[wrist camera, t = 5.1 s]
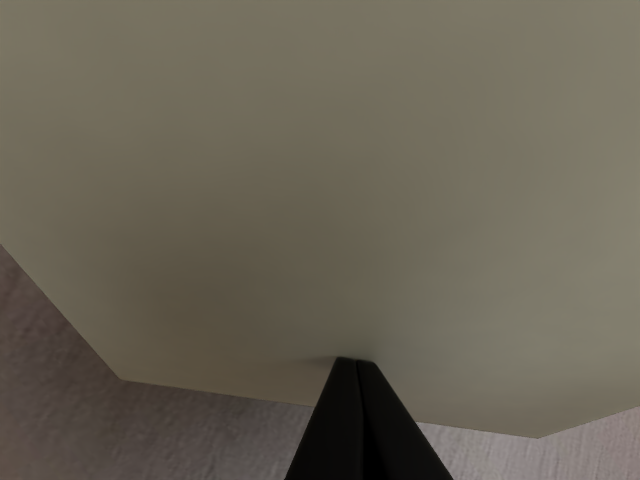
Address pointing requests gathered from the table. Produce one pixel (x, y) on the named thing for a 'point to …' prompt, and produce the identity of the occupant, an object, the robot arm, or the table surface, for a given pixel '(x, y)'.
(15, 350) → the table surface
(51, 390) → the table surface
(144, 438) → the table surface
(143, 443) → the table surface
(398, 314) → the lid
